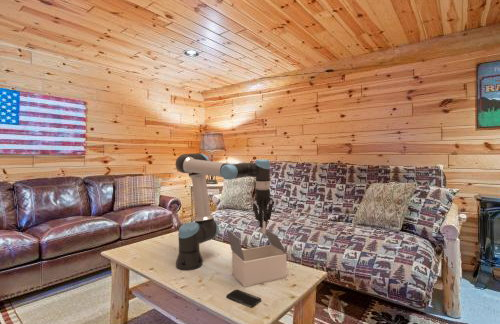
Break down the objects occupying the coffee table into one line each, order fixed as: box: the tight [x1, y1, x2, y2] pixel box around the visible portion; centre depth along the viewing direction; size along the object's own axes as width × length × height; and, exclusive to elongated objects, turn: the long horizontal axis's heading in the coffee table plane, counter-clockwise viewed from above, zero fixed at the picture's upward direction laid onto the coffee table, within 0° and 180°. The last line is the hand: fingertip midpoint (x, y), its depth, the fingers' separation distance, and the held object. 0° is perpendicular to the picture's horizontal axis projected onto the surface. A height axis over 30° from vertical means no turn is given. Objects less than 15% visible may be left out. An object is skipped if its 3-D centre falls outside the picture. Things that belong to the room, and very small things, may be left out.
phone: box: [225, 289, 262, 309], centre depth 128 cm, size 8×1×15 cm
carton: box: [231, 244, 287, 288], centre depth 151 cm, size 16×24×12 cm, turn 115°
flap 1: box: [226, 229, 245, 261], centre depth 144 cm, size 16×12×1 cm
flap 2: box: [265, 228, 287, 254], centre depth 154 cm, size 16×12×1 cm
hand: (263, 233), depth 151 cm, fingers closed
